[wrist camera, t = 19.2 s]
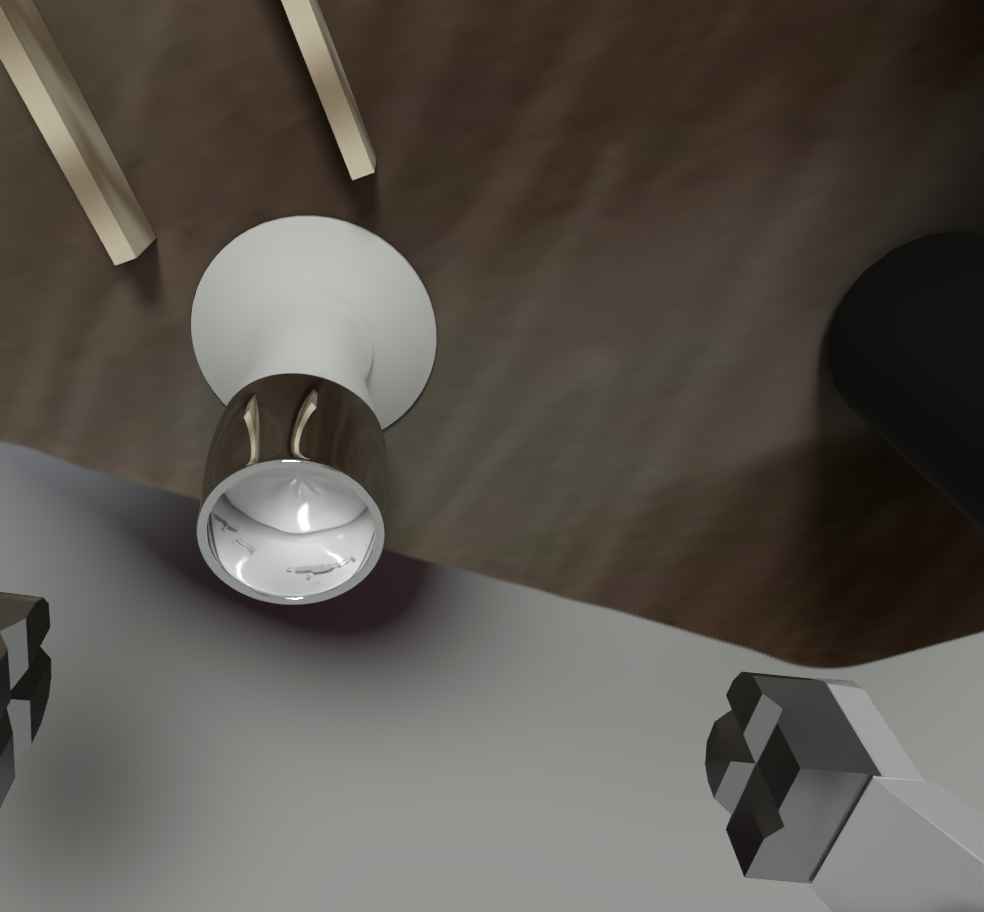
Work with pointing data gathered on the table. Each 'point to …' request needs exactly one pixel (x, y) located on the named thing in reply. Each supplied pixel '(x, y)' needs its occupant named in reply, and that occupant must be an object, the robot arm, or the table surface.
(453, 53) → the table surface
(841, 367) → the coffee jar
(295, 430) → the heart stem goblet
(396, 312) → the grey coaster
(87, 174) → the maple lane
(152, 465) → the table surface
